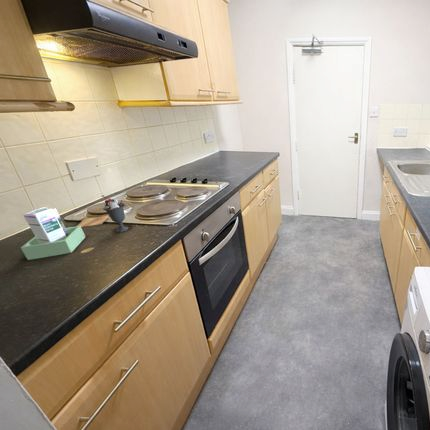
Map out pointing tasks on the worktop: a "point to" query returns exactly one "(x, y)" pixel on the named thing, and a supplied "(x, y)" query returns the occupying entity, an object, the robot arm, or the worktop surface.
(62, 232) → the syrup box
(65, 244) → the green square tray
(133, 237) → the worktop surface
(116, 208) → the sundae
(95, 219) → the wooden mat
